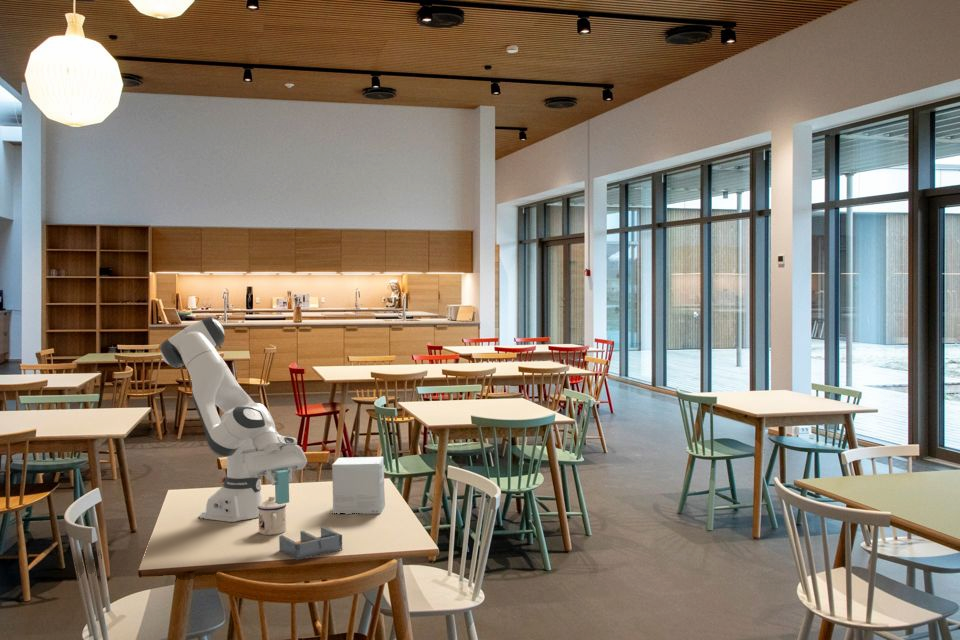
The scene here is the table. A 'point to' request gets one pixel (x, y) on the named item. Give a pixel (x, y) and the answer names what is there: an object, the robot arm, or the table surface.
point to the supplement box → (358, 485)
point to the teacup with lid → (272, 517)
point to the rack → (311, 544)
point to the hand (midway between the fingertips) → (282, 482)
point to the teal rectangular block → (282, 487)
